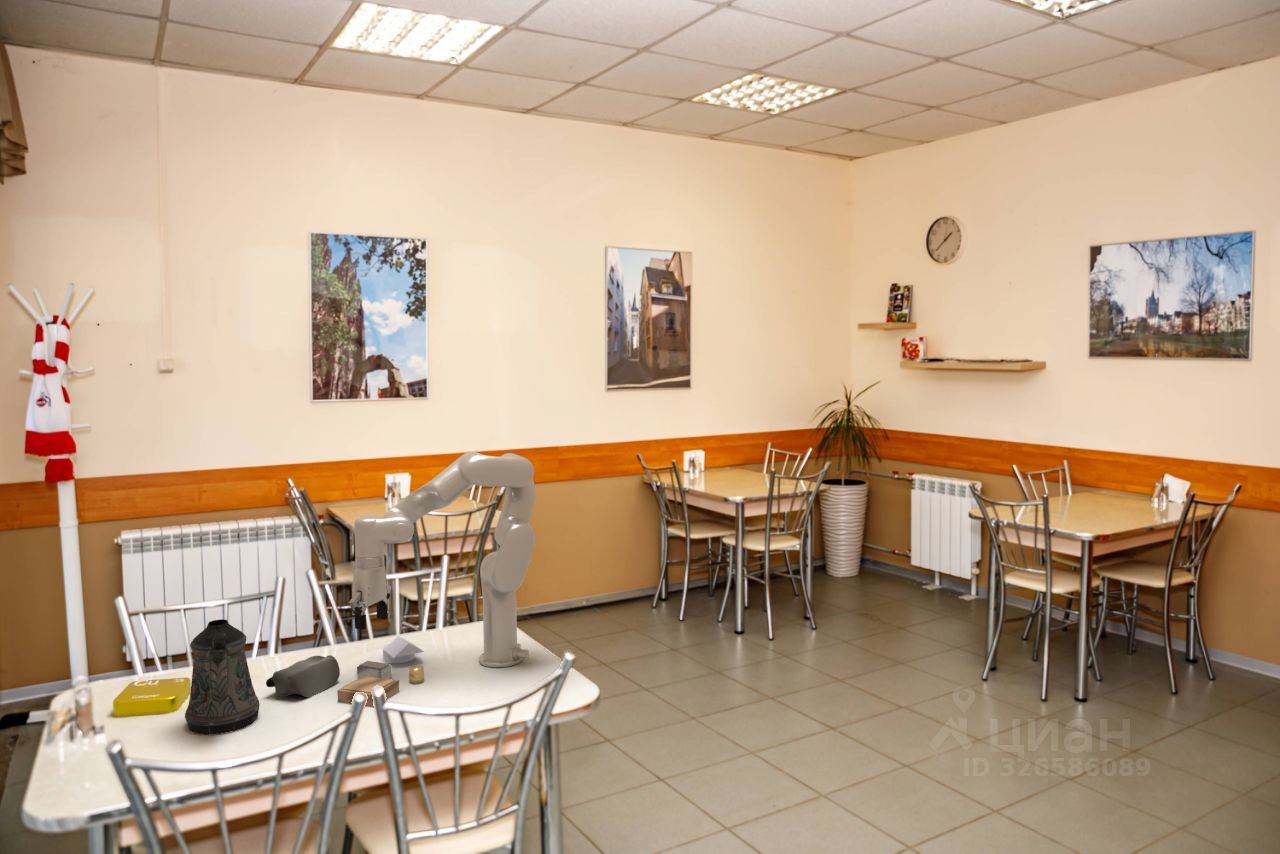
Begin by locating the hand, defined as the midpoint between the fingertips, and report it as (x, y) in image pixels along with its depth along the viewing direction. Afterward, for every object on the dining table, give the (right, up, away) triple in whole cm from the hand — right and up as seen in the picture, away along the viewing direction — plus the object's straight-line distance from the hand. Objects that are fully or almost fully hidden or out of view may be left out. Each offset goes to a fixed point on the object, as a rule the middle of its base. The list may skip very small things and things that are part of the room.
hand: (371, 623), depth 251 cm
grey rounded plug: (-16, -17, -5) cm, 24 cm away
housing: (0, -16, +2) cm, 16 cm away
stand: (+2, -17, -11) cm, 20 cm away
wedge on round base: (+4, -14, +17) cm, 23 cm away
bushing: (+12, -16, -1) cm, 20 cm away
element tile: (-52, -18, -14) cm, 57 cm away
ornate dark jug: (-27, -19, -27) cm, 43 cm away
